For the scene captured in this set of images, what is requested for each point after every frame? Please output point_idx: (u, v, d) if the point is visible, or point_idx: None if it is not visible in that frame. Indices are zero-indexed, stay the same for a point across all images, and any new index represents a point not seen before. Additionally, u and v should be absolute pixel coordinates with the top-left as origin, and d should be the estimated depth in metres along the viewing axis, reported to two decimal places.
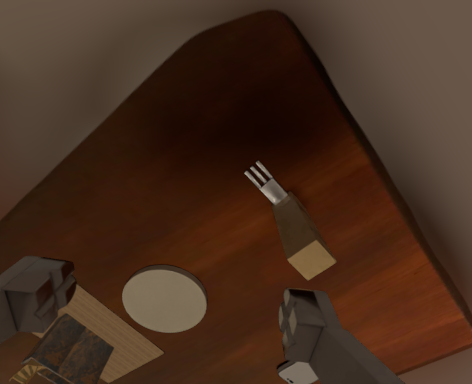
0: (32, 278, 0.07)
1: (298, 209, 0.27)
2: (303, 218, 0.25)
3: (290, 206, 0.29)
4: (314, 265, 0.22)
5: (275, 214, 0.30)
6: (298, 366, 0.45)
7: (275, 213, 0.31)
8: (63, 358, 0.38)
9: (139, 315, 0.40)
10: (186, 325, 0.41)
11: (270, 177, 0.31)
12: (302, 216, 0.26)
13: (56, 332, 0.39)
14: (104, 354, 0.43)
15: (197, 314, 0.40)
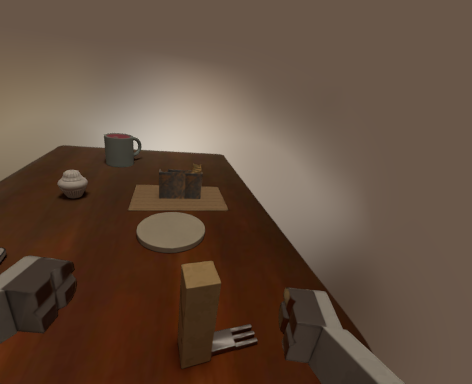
0: (32, 278, 0.07)
1: (214, 326, 0.26)
2: (216, 312, 0.25)
3: None
4: (194, 273, 0.24)
5: None
6: None
7: None
8: (186, 180, 0.64)
9: (174, 215, 0.55)
10: (142, 227, 0.49)
11: (236, 344, 0.29)
12: None
13: (198, 188, 0.66)
14: (163, 192, 0.64)
15: (145, 235, 0.46)
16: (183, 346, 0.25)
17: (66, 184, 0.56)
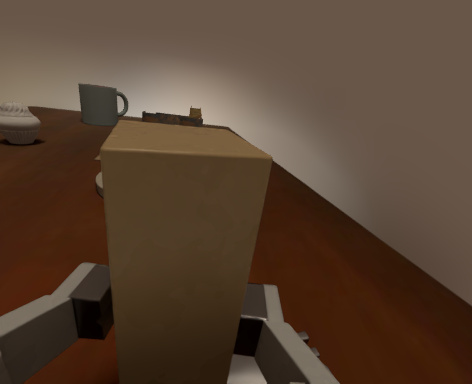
0: (94, 285, 0.08)
1: None
2: None
3: None
4: (162, 132, 0.06)
5: None
6: None
7: None
8: None
9: None
10: None
11: None
12: None
13: None
14: None
15: None
16: None
17: (3, 119, 0.38)
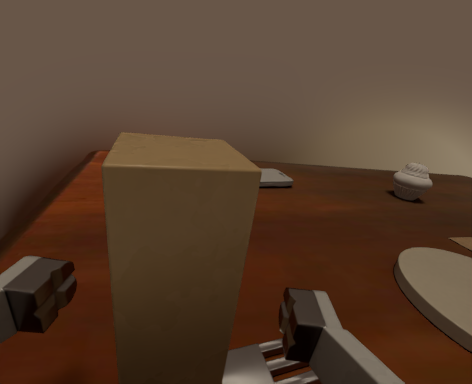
0: (32, 278, 0.07)
1: None
2: None
3: None
4: (160, 145, 0.06)
5: None
6: (269, 179, 0.41)
7: None
8: None
9: None
10: (429, 252, 0.25)
11: None
12: None
13: None
14: None
15: (413, 259, 0.23)
16: None
17: (400, 175, 0.44)
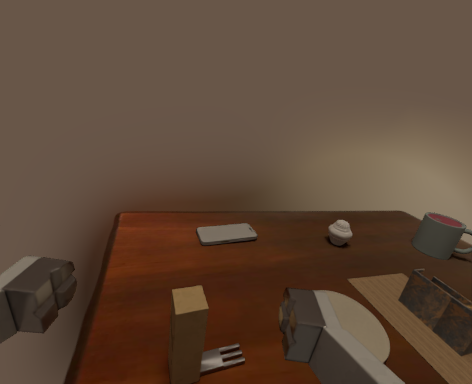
0: (32, 278, 0.07)
1: (202, 348, 0.27)
2: (204, 334, 0.26)
3: None
4: (184, 298, 0.25)
5: None
6: (241, 235, 0.60)
7: None
8: (448, 307, 0.39)
9: (370, 320, 0.40)
10: None
11: (224, 363, 0.31)
12: None
13: (465, 337, 0.37)
14: (407, 297, 0.46)
15: None
16: (173, 368, 0.26)
17: (331, 228, 0.64)
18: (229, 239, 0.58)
